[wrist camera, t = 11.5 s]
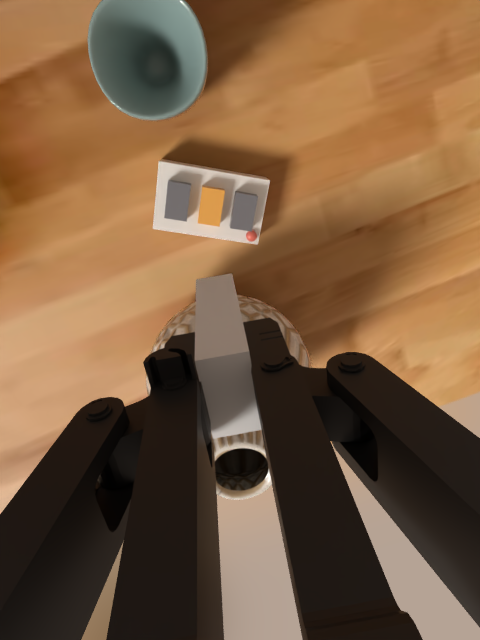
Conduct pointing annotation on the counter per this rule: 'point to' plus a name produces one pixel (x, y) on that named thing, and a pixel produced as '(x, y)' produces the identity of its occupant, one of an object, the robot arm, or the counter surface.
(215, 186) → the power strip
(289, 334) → the vase
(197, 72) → the cup
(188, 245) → the counter surface
